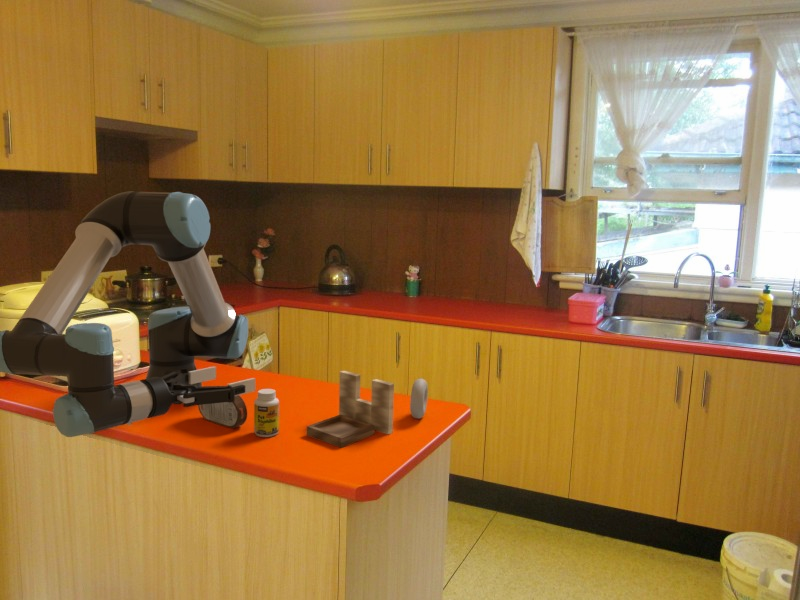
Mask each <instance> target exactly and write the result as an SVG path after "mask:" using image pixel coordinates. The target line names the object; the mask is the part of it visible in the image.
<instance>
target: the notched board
mask: <svg viewBox="0 0 800 600" xmlns="http://www.w3.org/2000/svg"><path fill="white" fill-rule="evenodd" d="M338 385H339V390H338V391H339V393H338V395H339V396H338V398H339V399H338V400H339V401H338V402H339V403H338V405H339V406H338V415H343V416H346V417H349V418H352V419H356V420H359V421H362V422H365V423H368V424H371V425H374V431H377V432H380V433H382V434H385V435H390V434H392V433H393V432H394V431H393V429H394V427H393V425H394V398H395V397H394V391H395V385H394V383H392V382H389V381H385V380H382V379H377V378H375V379H372V380H371V401H369V400H365V399H362V398H361V374H359V373H354V372H351V371H347V370H340V371H339V384H338Z"/></svg>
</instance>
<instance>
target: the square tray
mask: <svg viewBox="0 0 800 600" xmlns="http://www.w3.org/2000/svg"><path fill="white" fill-rule="evenodd" d="M374 435H375V430H374V425H371V424H368V423H365V422H362V421H359V420H356V419H352V418H349V417H346V416H343V415H339V414H337V415H335V416H332V417H329V418H327V419H323V420H320V421H318V422H314V423H312V424H309V425H306V436H308V437H310V438H313V439H316V440H319V441H320V442H323V443H327V444H330V445H333V446H335V447H337V448H344V447H347V446H350V445H351V444H354V443H357V442H359V441H362V440H364V439H367V438H369V437H371V436H374Z"/></svg>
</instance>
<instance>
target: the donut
mask: <svg viewBox="0 0 800 600" xmlns="http://www.w3.org/2000/svg"><path fill="white" fill-rule="evenodd" d="M428 388H429V387H428V382H427V381H426V380H425V379H424V378H418V379H416V380H414V382H413V384H412V388H411V393H410V401H409V402H410V403H409V404H410V405H409V406H410V407H409V409H410V413H411V414H410V415H411V416H412V417H413V418H414V419H422V418H423V416H424V415H425V413H426V410H427V404H428V396H429V395H428V393H429V392H428V391H429V390H428Z"/></svg>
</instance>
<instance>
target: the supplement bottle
mask: <svg viewBox="0 0 800 600" xmlns="http://www.w3.org/2000/svg"><path fill="white" fill-rule="evenodd" d="M276 396H277V395H276V390H275V389H272V388H262V389H259V390H258V391H257V398H256V399H255V400H254V401H253V403H254V404H253V405H254V407H253V408H254V409H253V410H254V411H253V412H254V414H253V415H254V418H253V420H254V423H253V424H254V426H253V428H254V429H253V431H254V434H255V435H256V436H257V437H261V438H271V437H275V436H276V435H277V434H279V430H280V429H279V428H280V400H279V398H278V397H276Z"/></svg>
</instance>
